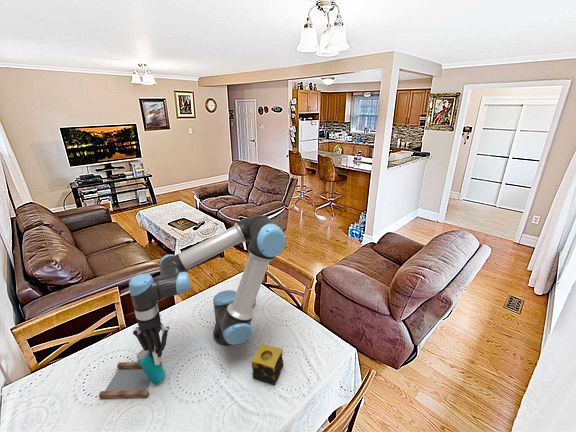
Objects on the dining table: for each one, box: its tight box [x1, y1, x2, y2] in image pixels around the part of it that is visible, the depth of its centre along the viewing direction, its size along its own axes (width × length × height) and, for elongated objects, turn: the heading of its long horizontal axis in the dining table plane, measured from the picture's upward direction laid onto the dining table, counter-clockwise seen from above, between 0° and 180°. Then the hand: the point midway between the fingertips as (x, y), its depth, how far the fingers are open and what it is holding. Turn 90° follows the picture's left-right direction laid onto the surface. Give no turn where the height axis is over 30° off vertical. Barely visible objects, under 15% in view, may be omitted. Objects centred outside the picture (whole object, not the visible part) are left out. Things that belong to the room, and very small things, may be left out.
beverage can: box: [136, 348, 166, 386], centre depth 112 cm, size 6×6×15 cm
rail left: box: [98, 389, 150, 400], centre depth 109 cm, size 18×2×2 cm, turn 91°
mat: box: [104, 369, 151, 391], centre depth 115 cm, size 16×11×1 cm
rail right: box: [116, 361, 163, 370], centre depth 121 cm, size 18×2×2 cm, turn 91°
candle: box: [251, 343, 284, 386], centre depth 117 cm, size 10×10×10 cm
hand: (158, 362), depth 111 cm, fingers closed
